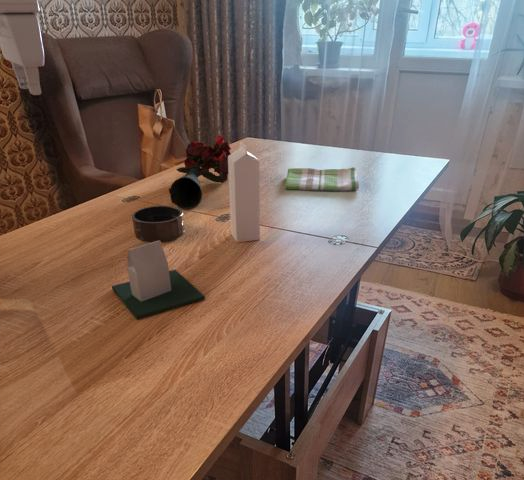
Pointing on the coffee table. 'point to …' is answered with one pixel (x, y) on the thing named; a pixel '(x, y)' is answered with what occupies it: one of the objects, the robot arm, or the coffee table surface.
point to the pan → (158, 223)
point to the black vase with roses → (199, 172)
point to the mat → (160, 297)
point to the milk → (244, 195)
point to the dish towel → (322, 179)
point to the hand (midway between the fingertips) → (30, 91)
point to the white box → (148, 271)
